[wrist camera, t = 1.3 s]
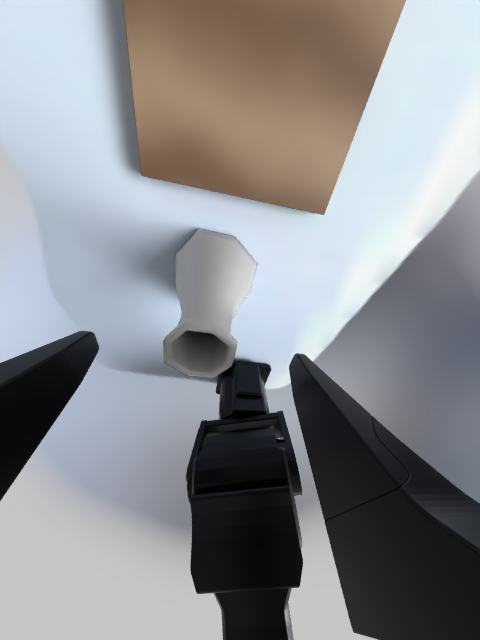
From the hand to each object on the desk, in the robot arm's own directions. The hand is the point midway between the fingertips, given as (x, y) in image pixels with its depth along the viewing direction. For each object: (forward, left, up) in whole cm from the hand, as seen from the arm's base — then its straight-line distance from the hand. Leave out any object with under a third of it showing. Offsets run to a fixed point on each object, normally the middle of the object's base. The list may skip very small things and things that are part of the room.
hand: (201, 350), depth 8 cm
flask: (0, 0, -10) cm, 10 cm away
